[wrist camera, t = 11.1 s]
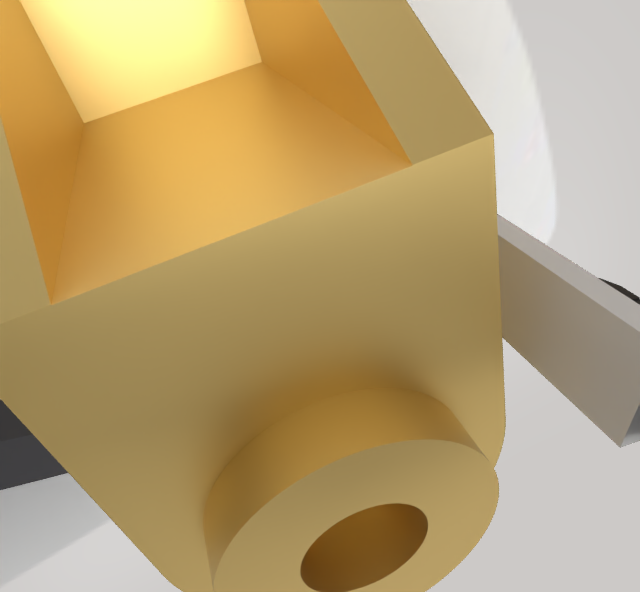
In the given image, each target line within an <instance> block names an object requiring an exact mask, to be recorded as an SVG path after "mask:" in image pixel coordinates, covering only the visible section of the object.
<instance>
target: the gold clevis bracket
mask: <svg viewBox="0 0 640 592" xmlns="http://www.w3.org/2000/svg"><path fill="white" fill-rule="evenodd" d="M502 346H503V345H502V321H501V297H500V274H499V250H498V226H497V202H496V179H495V155H494V133H493V132H492V130H491V129H490V127H489V126H488V124H487V123H486V121H485V120H484V118H483V117H482V115H481V114H480V112H479V111H478V109H477V108H476V106H475V104H474V103H473V101H472V100H471V98H470V97H469V95H468V94H467V92H466V91H465V89H464V88H463V86H462V85H461V83H460V82H459V80H458V79H457V77H456V76H455V74H454V72H453V71H452V69H451V68H450V66H449V65H448V63H447V62H446V60H445V59H444V57H443V56H442V54H441V53H440V51H439V50H438V48H437V47H436V45H435V43H434V42H433V40H432V39H431V37H430V36H429V34H428V33H427V31H426V30H425V28H424V27H423V25H422V24H421V22H420V21H419V19H418V18H417V16H416V15H415V13H414V11H413V10H412V8H411V7H410V5H409V4H408V2H407V1H406V0H0V399H1V400H2V401H3V402H4V403H5V404H6V406H7V407H8V408H9V409H10V410H11V411H12V412H13V413H14V414H15V415H16V416H17V417H18V419H19V420H20V421H21V422H22V423H23V424H24V425H25V426H26V427H27V428H28V429H29V431H30V432H31V433H32V434H33V435H34V436H35V437H36V438H37V439H38V440H39V441H40V442H41V444H42V445H43V446H44V447H45V448H46V449H47V450H48V451H49V452H50V453H51V454H52V455H53V457H54V458H55V459H56V460H57V461H58V462H59V463H60V464H61V465H62V466H63V467H64V468H65V470H66V471H67V472H68V473H69V474H70V475H71V476H72V477H73V478H74V479H75V480H76V482H77V483H78V484H79V485H80V486H81V487H82V488H83V489H84V490H85V491H86V492H87V493H88V495H89V496H90V497H91V498H92V499H93V500H94V501H95V502H96V503H97V504H98V505H99V506H100V508H101V509H102V510H103V511H104V512H105V513H106V514H107V515H108V516H109V517H110V518H111V519H112V521H113V522H115V524H116V525H117V526H118V527H119V528H120V529H121V530H122V531H123V532H124V533H125V535H126V536H127V537H128V538H129V539H130V540H131V541H132V542H133V543H134V544H135V546H136V547H137V548H138V549H139V550H140V551H141V552H142V553H143V554H144V555H145V556H146V557H147V558H148V560H149V561H150V562H151V563H152V564H153V565H154V566H155V567H156V568H157V569H158V570H159V572H160V573H161V574H162V575H163V576H164V577H165V578H166V579H167V580H168V581H169V582H171V583H172V584H173V585H174V586H176V587H177V588H178V589H180V590H181V591H183V592H425V591H427V590H428V589H429V588H431V587H432V586H434V585H435V584H436V583H438V582H439V581H440V580H441V579H443V578H444V577H445V576H446V575H448V574H449V573H450V572H451V571H452V570H453V569H454V568H455V567H456V566H457V565H458V564H460V563H461V561H462V560H463V559H464V558H465V557H466V556H467V555H468V554H469V553H470V552H471V550H472V549H473V548H474V547H475V546H476V544H477V543H478V542H479V540H480V538H482V536H483V534H484V533H485V531H486V530H487V528H488V526H489V524H490V522H491V520H492V518H493V515H494V513H495V510H496V507H497V503H498V497H499V483H498V478H497V475H496V472H495V470H494V467H495V465H496V463H497V460H498V458H499V455H500V452H501V449H502V445H503V441H504V436H505V427H506V423H505V422H506V417H505V395H504V394H505V393H504V369H503V347H502Z"/></svg>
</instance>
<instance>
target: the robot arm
mask: <svg viewBox="0 0 640 592" xmlns="http://www.w3.org/2000/svg"><path fill="white" fill-rule="evenodd" d="M497 226H498V250H499V274H500V297H501V321H502V338H504V339H505V340H506V341H507V342H508V343H509V344H510V345H511V346H512V347H513V348H514V349H515V350H516V351H517V352H519V353H520V354H521V355H522V356H523V357H524V358H525V359H526V360H527V361H528V362H529V363H530V364H531V365H532V366H533V367H535V368H536V369H537V370H538V371H539V372H540V373H541V374H542V375H543V376H544V377H545V378H546V379H547V380H548V381H550V382H551V383H552V384H553V385H554V386H555V387H556V388H557V389H558V390H559V391H560V392H561V393H562V394H563V395H564V396H566V397H567V398H568V399H569V400H570V401H571V402H572V403H573V404H574V405H575V406H576V407H577V408H578V409H579V410H580V411H582V412H583V413H584V414H585V415H586V416H587V417H588V418H589V419H590V420H591V421H592V422H593V423H594V424H595V425H597V426H598V427H599V428H600V429H601V430H602V431H603V432H604V433H605V434H606V435H607V436H608V437H609V438H610V439H611V440H613V441H614V442H615V443H616V444H617V445H618V446H619V447H623V446H626V445H629V444H632V443H635V442H637V441H640V299H639V297H638V296H636V295H634V294H633V293H631V292H630V291H628V290H626V289H625V288H623V287H621V286H619V285H616V284H614V283H611V282H608V281H606V280H603V279H600V278H597V277H595V276H594V275H592V274H591V273H589V272H588V271H586V270H584V269H583V268H581V267H580V266H578V265H577V264H575V263H573V262H572V261H570V260H569V259H567V258H565V257H564V256H563V255H561V254H559V253H558V252H556V251H554V250H553V249H552V248H550V247H548V246H547V245H545V244H544V243H542V242H541V241H539V240H537V239H536V238H534V237H533V236H531V235H530V234H528V233H526V232H525V231H523V230H522V229H520V228H519V227H517V226H516V225H514V224H512V223H511V222H509V221H508V220H506V219H505V218H503V217H501V216H500V215H498V214H497Z"/></svg>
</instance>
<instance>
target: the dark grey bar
mask: <svg viewBox="0 0 640 592" xmlns="http://www.w3.org/2000/svg"><path fill="white" fill-rule="evenodd" d="M65 473H68V472H67V471H66V470H65V468H64V467H63V466H62V465H61V464H60V463H59V462H58V461H57V460H56V459H55V458H54V457H53V455H52V454H51V453H50V452H49V451H48V450H47V449H46V448H45V447H44V446H43V445H42V444H41V442H40V441H39V440H38V439H37V438H36V437H35V436H34V435H33V434H32V433H31V432H30V431H29V429H28V428H27V427H26V426H25V425H24V424H23V423H22V422H21V421H20V420H19V419H18V417H17V416H16V415H15V414H14V413H13V412H12V411H11V410H10V409H9V408H8V407H7V406H6V404H5V403H4V402H3V401H2V400H1V399H0V490H3V489H7V488H11V487H15V486H18V485H22V484H26V483H30V482H34V481H38V480H42V479H46V478H50V477H53V476H57V475H61V474H65Z"/></svg>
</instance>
